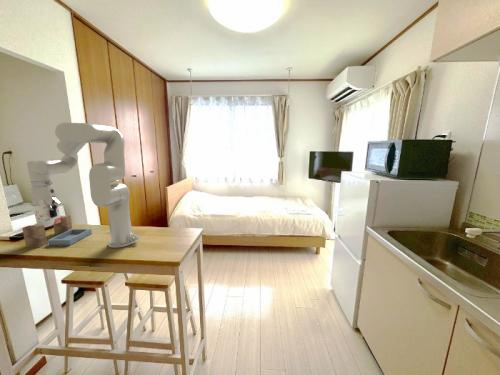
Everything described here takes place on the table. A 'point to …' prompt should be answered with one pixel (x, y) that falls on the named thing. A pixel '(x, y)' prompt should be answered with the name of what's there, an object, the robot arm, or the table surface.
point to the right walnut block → (63, 225)
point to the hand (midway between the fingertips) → (48, 216)
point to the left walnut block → (34, 236)
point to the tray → (69, 237)
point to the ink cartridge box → (45, 215)
